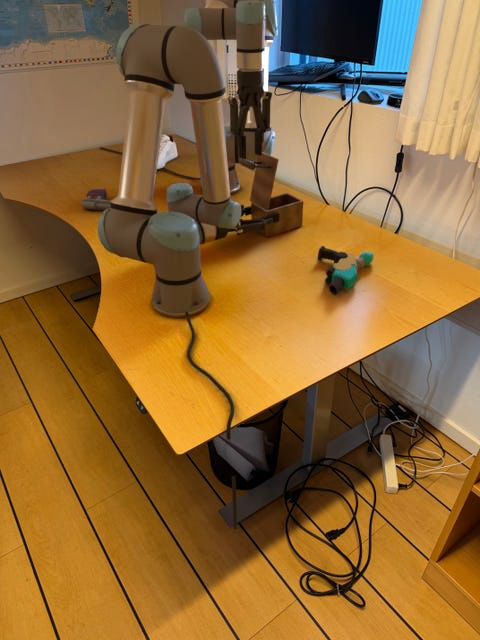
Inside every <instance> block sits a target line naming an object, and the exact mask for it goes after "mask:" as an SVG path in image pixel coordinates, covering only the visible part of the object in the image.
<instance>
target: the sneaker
mask: <svg viewBox="0 0 480 640" xmlns="http://www.w3.org/2000/svg"><path fill="white" fill-rule="evenodd" d="M178 156H179V155H178V149H177V144H176V140H175V136H174V135H173V134H164V133H162V134H161V142H160V149H159V157H158V164H157V170H160V169H161V168H162V167H163V168H165V166H166V164H167V163H168V162H170V161H172V160H175V159H176V158H177V157H178Z"/></svg>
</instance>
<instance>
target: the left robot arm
mask: <svg viewBox="0 0 480 640" xmlns="http://www.w3.org/2000/svg"><path fill="white" fill-rule="evenodd" d="M115 51H116V52H115V58H116V63H117V64H118V66H117V68H118V71H119V72H120V74H121V75H122V76H123V77H124V81H123V83H124V86H125V87H126V89H127V91H128V92H129V95H128V105H127V113H126V124H125V130H124V138H123V139H124V140H123V147H122V153H123V154H122V156H121V166H120V173H119V174H120V175H119V183H118V191H117V195H116V196H115V197H114V198H113V199H110V200H111V205H110V208H108V209H106V210H103V211H102V214H101V215H100V216H99V219H98V221H97V234H98V239H99V242H100V244H101V245H102V247H103V249H104V250H106V251H107V252H108V253H110V254H114V255H116V256H118V257H120V258H126V259H130V260H134V261H137V262H141V263H145V264H149V265H152V266H153V268H154V274H155V275H154V276H155V281H154V284H153V290H152V294H151V305H152V308H153V310H154V311H155V312H156V313H157V314H159V315H160V316H163V317H167V318H171V319H183V318H185V319H186V320H187V324H188V326H189V329H190V332H191V340H190V343H189V345H188V347H187V351H186V356H187V360H188V362H189V363H190V365H191V366H192V367H193V368H194V369H195V370H196V371H199V372H200V373H201V374H203V375H204V376H205V377H207V378H208V379H209V381H210V382H212V383H213V385H215V386H216V387H217V388H218V389H219V391H220V392H221V393H222V394H223V395H224V396H225V398H226V400H227V402H228V404H229V408H230V412H229V416H228V418H227V421H226V431H225V433H226V440H227V441H230V440H231V437H232V436H231V428H232V422H233V418H234V415H235V404H234V402H233V398H231V395H230V394H229V392H228V391H227V389H225V388H224V387H223V386H222V385H221V384H220V383H219V382H218V381H217V380H216V379H215V378H214V377H213V376H212V375H211V374H210V373H208V372H207V371H206V370H204V369H203V368H201V367H200V366H199V365H197V364H196V363H195V361H194V360H193V359H192V356H191V352H192V348H193V346H194V343H195V340H196V333H195V328H194V326H193V323H192V321H191V317H194V316H196V315H199V314H201V313H202V312H204V311H205V310H207V308H208V307H209V306H210V303H211V294H210V290H209V288H208V286H207V284H206V281H205V278H204V277H203V275H202V262H201V261H202V259H201V245H206V244H207V243H211V242H214V241H218V240H222V239H224V238H226V237H227V235H228V234H229V233H234V232H236V235H237V236H242V235H245V234H250V233H255V232H257V231H262V230H266V225H268V224H272V223H275V222H278V221H279V217H280V213H275V214H272V215H269V216H265V217H262V219H253V220H251V219H243V218H242V217H244V216H245V217H247V216H251V205H249V206H245V205H244V204H241V205H240V204H239V202H237V201H234V200H232V197H231V195H232V194H230V185H229V174H228V162H227V151H226V140H225V128H224V126H225V119H224V118H225V117H224V107H223V106H224V105H223V98H224V97H225V95H226V93H227V91H226V80H225V75H224V71H223V67H222V65H221V62H220V59H219V56H218V55H217V53H216V51H215V49H214V48H213V46H212V44H211V43H210V41H209V40H207V39H206V38H205V37H204V36H203V35H202V34H201V33H200V32H198V31H197V30H195V29H193V28H191V27H188V26H185V25H163V24H149V23H143V24H136V25H131V26H129V27H128V28H127V29H125V30H124V31H123V32H122V34H121V35H120V36H119V39H118V42H117V44H116V50H115ZM175 85H181V86H182V88H183V91H184V98H185V99H186V100H187V101H188V102H189V104H190V111H191V117H192V126H193V132H194V140H195V147H196V148H195V149H196V154H197V155H196V156H197V161H198V169H199V176H200V177H199V178H201V180H200V183H201V190H202V191H201V192H202V195H201V194H195V193H194V188H193V186H192V185H191V184H189V183H185V182H177V183H173V184H171V185H169V186H168V187H167V188H166V204H167V211H160V212H158V207H157V206H156V205H155V203H154V194H155V186H156V179H157V172H158V171H157V170H158V169H157V164H158V157H159V149H160V142H161V134H163V127H164V117H165V112H166V103H167V101H168V100H169V99H171V97H173V96H174V93H175V92H174V91H175ZM231 492H232V517H233V518H232V519H233V520H232V521H233V530H237V529H238V515H237V514H238V511H237V509H238V508H237V482H236V475H231Z"/></svg>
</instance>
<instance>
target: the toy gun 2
mask: <svg viewBox="0 0 480 640" xmlns="http://www.w3.org/2000/svg"><path fill="white" fill-rule="evenodd" d="M317 253H318V254H317V260H318V261H323V260H330V261H333V264H332V266H329V268H327V270H326V271H325V275H326V277H325V279H324V282H325V284H327V285H328V290H329V292H330V293H331V295H333V296H338V294H339V293H340V292H342V290H343V288H344V289H346V290H348V289H350V288H351V287H353V286H354V285H355V284H356V282H357V281H358V272H357V271H358V270H360V269H362V268H363V267H364V266H366V267H368V266H369V265H370V264H371V263H372V262H373V261H374V258H375V257H374V253H373V252H371V251H364V252H361V253H360V254H359V256H358V257H356V255H355V254H353V253H349V252H344V251H337V250H334V249H330V248H327V247H325V245H321V246H320V247H319V249H318V251H317Z"/></svg>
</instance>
